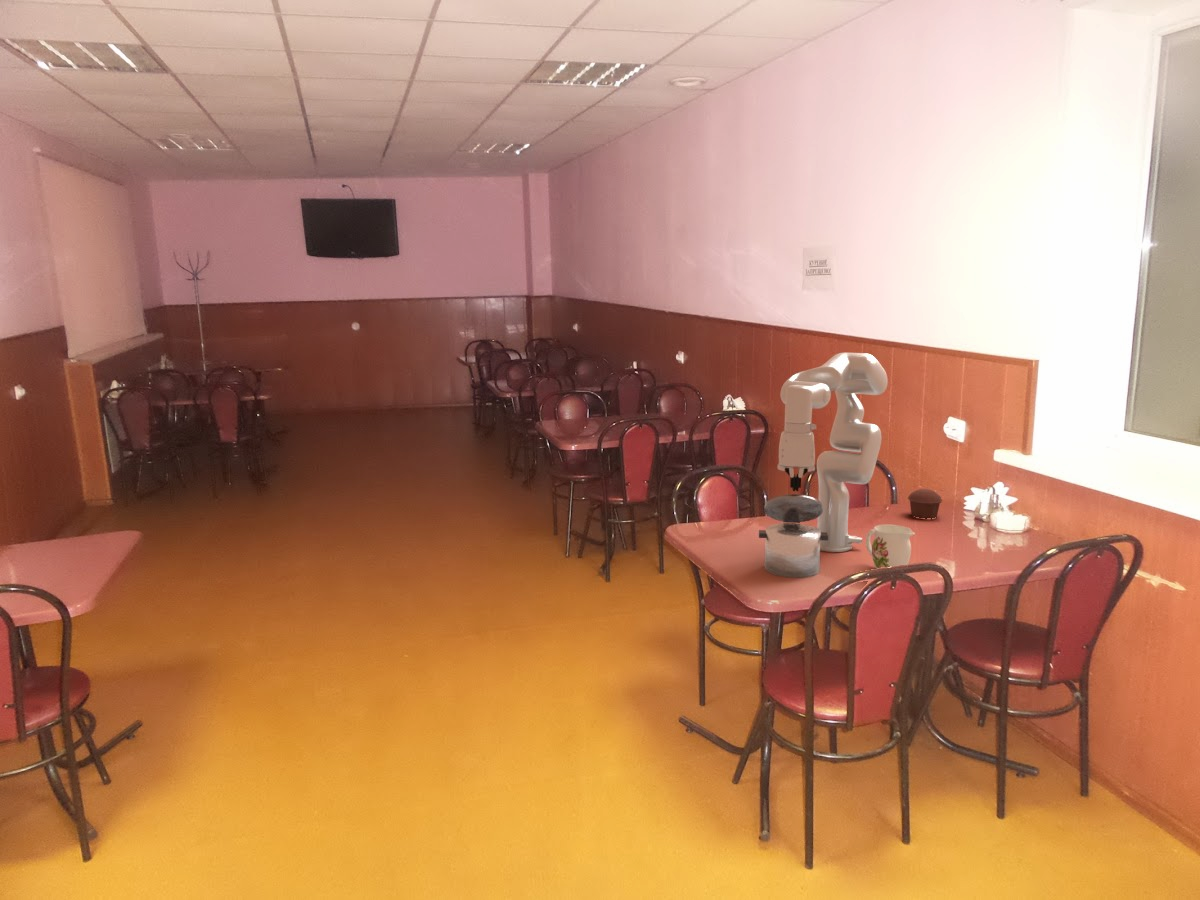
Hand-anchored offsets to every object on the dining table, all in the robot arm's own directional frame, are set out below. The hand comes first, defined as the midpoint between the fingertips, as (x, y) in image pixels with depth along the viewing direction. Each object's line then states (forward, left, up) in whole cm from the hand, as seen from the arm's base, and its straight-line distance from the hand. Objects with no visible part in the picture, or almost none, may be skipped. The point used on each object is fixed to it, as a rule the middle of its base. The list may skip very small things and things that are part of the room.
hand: (795, 490), depth 251 cm
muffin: (-51, -69, -25) cm, 89 cm away
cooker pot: (0, -3, -25) cm, 25 cm away
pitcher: (-28, -5, -25) cm, 38 cm away
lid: (0, -5, -8) cm, 9 cm away
